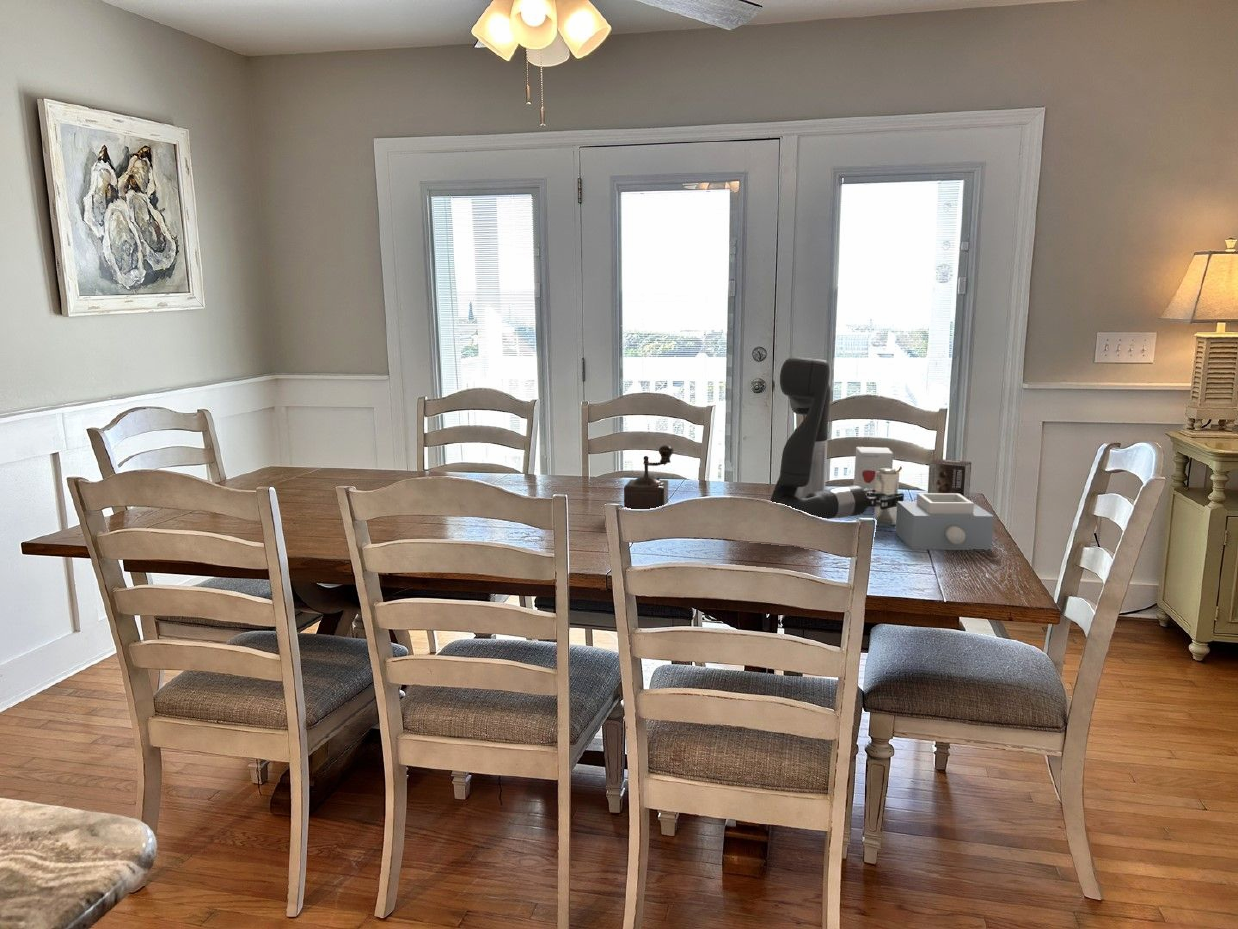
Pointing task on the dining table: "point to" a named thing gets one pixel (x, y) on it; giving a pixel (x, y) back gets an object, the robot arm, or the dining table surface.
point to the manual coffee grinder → (648, 486)
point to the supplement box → (870, 465)
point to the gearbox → (943, 523)
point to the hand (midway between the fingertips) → (893, 494)
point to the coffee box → (949, 477)
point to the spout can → (888, 485)
